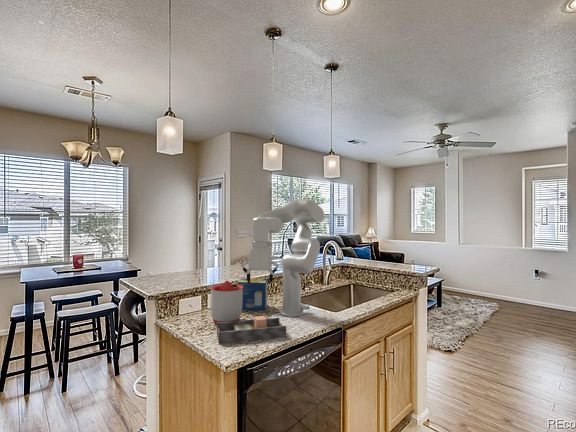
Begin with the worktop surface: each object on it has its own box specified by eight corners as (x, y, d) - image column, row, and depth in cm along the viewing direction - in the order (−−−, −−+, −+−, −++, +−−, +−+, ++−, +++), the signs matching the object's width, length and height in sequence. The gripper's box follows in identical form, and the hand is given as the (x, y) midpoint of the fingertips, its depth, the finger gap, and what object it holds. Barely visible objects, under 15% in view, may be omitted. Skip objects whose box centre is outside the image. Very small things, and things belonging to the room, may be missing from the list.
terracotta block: (264, 324, 137) (264, 315, 137) (266, 328, 133) (266, 319, 133) (254, 325, 136) (254, 316, 136) (256, 329, 132) (256, 320, 132)
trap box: (278, 327, 143) (278, 317, 143) (286, 337, 132) (286, 326, 132) (216, 333, 135) (216, 322, 135) (218, 343, 123) (219, 332, 123)
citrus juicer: (249, 317, 156) (249, 277, 156) (234, 329, 140) (234, 285, 140) (221, 314, 161) (221, 275, 161) (203, 325, 144) (204, 282, 144)
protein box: (240, 304, 178) (241, 277, 178) (267, 305, 178) (267, 278, 178) (237, 310, 168) (237, 281, 168) (265, 311, 167) (265, 282, 167)
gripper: (279, 244, 144) (279, 281, 144) (242, 243, 144) (241, 280, 144) (279, 246, 136) (278, 284, 136) (239, 245, 136) (239, 284, 136)
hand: (259, 282), depth 140 cm, fingers open, 9 cm apart
